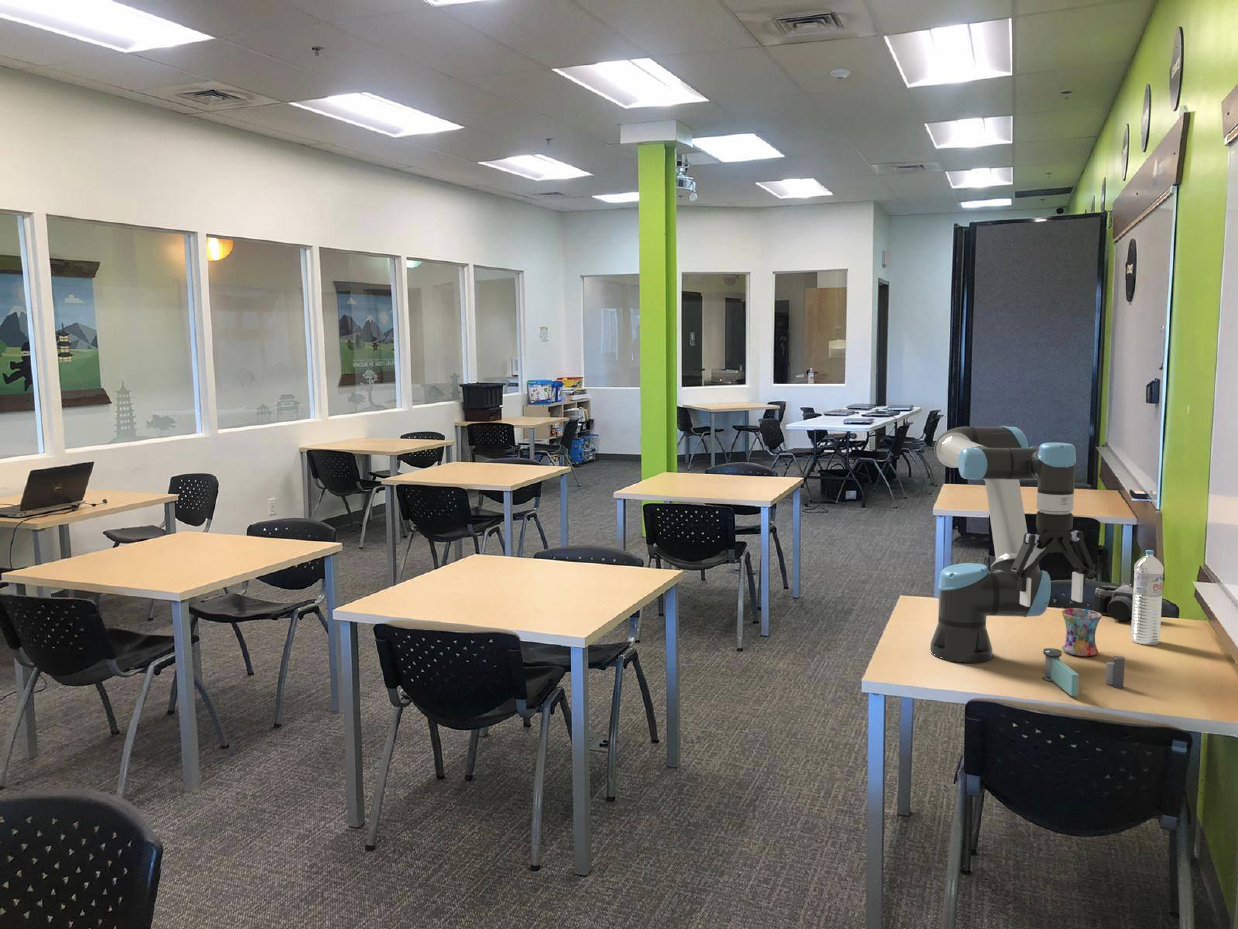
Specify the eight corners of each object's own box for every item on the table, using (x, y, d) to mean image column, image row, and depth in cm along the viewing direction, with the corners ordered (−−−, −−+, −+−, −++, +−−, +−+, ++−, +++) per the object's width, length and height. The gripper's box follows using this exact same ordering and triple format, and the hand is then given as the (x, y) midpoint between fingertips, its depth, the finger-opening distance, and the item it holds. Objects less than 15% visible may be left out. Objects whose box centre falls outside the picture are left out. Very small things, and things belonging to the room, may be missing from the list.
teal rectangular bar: (1042, 674, 224) (1043, 654, 223) (1055, 674, 224) (1056, 654, 223) (1067, 696, 210) (1068, 674, 209) (1081, 696, 210) (1082, 674, 209)
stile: (1106, 686, 217) (1108, 657, 216) (1105, 682, 220) (1107, 653, 219) (1123, 688, 216) (1124, 659, 215) (1121, 684, 218) (1123, 655, 218)
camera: (1087, 618, 272) (1088, 585, 271) (1096, 611, 280) (1097, 578, 279) (1147, 628, 262) (1149, 593, 261) (1155, 620, 270) (1157, 586, 269)
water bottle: (1149, 637, 253) (1154, 547, 250) (1165, 645, 246) (1170, 553, 243) (1125, 638, 253) (1129, 548, 250) (1139, 646, 246) (1144, 553, 243)
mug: (1090, 661, 235) (1092, 620, 234) (1053, 652, 242) (1055, 612, 241) (1110, 651, 242) (1112, 611, 241) (1074, 643, 250) (1076, 604, 248)
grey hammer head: (1042, 680, 221) (1043, 652, 221) (1042, 675, 225) (1043, 647, 224) (1061, 682, 220) (1062, 654, 219) (1060, 677, 224) (1061, 649, 223)
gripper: (1016, 517, 204) (1013, 611, 206) (1114, 511, 209) (1109, 603, 212) (995, 511, 211) (992, 602, 213) (1090, 506, 216) (1086, 595, 219)
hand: (1050, 603), depth 213 cm, fingers open, 13 cm apart
